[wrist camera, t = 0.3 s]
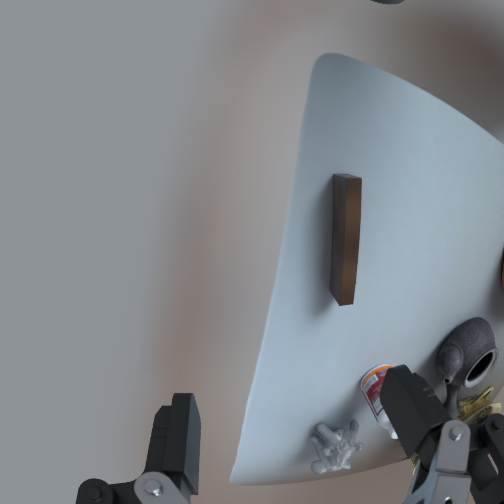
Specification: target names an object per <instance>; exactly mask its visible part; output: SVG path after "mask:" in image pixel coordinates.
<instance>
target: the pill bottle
mask: <svg viewBox="0 0 504 504" xmlns="http://www.w3.org/2000/svg"><path fill="white" fill-rule="evenodd" d="M392 367H394V366H393V365H390V364H382V365H379V366H376V367H374V368H373V369H371V370H370V371H369V372H368V373H367V374H366V375H365V376H364V377H363V379H362V381H361V390H362V392H363V394H364V396H365V398H366V400H367V402H368V404H369V406H370V408H371V410H372V412H373V414H374V416H375V418H376V420H377V422H378V424H379V425H380V426H381V427H382V428H385V429H388V432H389V434H390V436H391V437H392V438H393V439H398V436H397V434H396V432H395V430H394V428H393V427H392V425H391V423H390V421H389V419H388V417H387V415H386V413H385V411H384V409H383V407H382V405H381V403H380V398H379V393H380V389H381V386H382V383H383V380H384V377H385V374H386V371H387V369H389V368H392Z"/></svg>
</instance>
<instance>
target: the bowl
mask: <svg viewBox="0 0 504 504" xmlns="http://www.w3.org/2000/svg"><path fill="white" fill-rule="evenodd" d="M502 286H503V290H504V263H503V272H502Z"/></svg>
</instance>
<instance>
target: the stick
mask: <svg viewBox="0 0 504 504" xmlns="http://www.w3.org/2000/svg"><path fill="white" fill-rule="evenodd" d="M361 189H362V178H360V177H357V176H353V175H349V174H333V231H332V256H331V275H330V290H329V291H330V292H331V294H332V295H333V297H334V298H335V300H336V301H337V303H338V305H339V306H343V305H350V304H353V301H354V293H355V284H356V274H357V263H358V251H359V237H360V219H361Z"/></svg>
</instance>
